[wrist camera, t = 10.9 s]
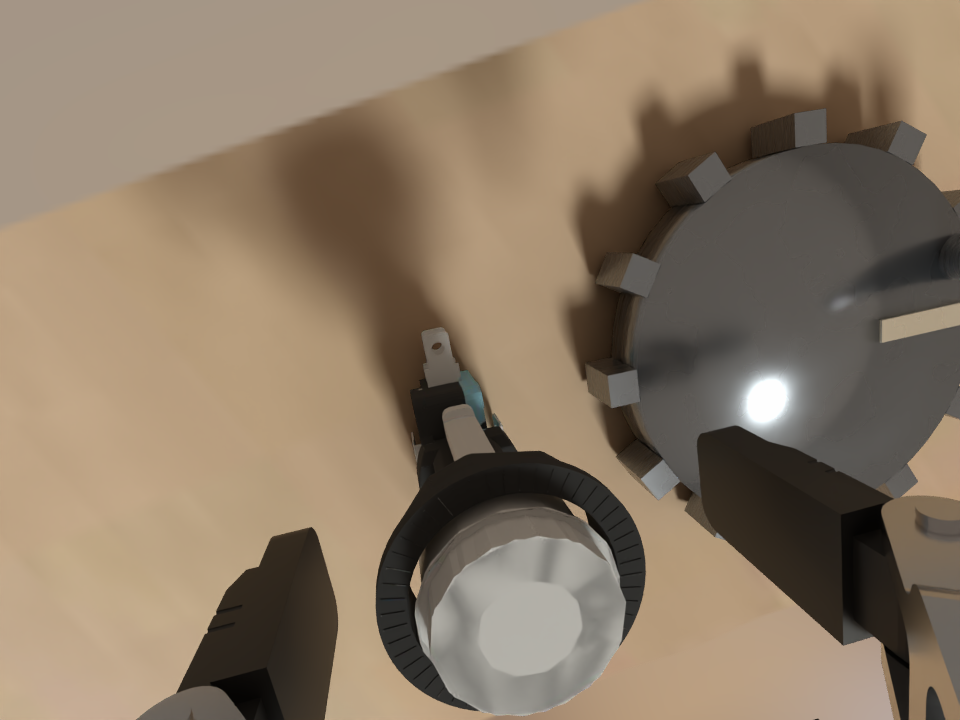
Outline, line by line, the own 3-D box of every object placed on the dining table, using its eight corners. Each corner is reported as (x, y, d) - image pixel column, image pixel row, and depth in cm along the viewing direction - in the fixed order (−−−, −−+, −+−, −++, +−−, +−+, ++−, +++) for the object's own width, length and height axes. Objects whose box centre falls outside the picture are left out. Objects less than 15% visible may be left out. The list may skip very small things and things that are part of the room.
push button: (354, 341, 18) (320, 455, 8) (508, 310, 18) (649, 378, 9) (396, 519, 19) (411, 795, 9) (537, 484, 20) (683, 707, 10)
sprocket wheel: (609, 559, 21) (697, 680, 15) (558, 158, 17) (646, 113, 11) (937, 470, 23) (1126, 546, 17) (950, 95, 19) (1193, 30, 13)
